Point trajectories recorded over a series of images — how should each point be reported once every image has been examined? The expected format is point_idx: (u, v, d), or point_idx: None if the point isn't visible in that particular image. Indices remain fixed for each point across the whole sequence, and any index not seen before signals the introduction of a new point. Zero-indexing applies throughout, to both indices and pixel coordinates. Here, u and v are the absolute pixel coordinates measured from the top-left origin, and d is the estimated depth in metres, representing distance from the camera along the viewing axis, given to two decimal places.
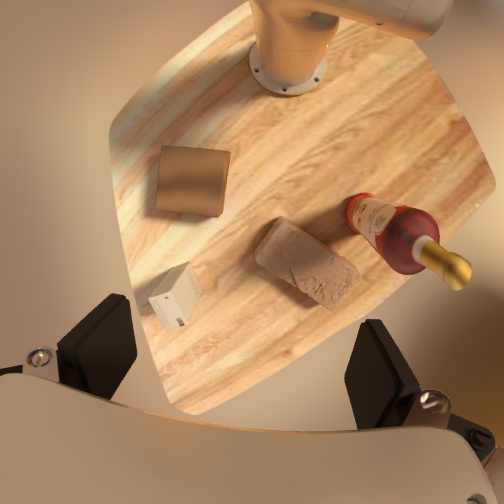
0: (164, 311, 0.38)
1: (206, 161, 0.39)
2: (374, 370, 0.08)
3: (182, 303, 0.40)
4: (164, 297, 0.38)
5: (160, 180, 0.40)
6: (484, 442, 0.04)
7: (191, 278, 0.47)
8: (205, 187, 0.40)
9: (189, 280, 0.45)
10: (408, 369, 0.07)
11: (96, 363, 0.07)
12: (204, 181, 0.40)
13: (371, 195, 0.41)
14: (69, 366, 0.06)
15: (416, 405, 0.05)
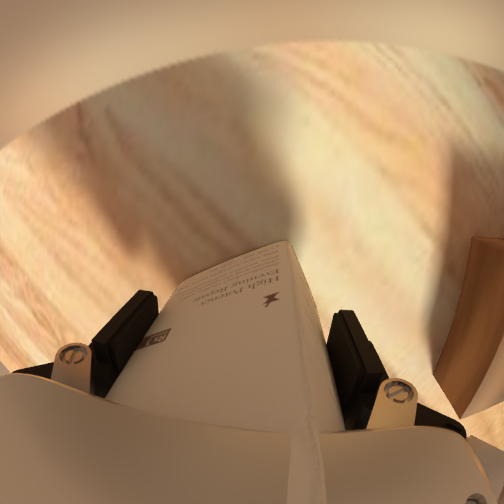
0: None
1: None
2: (343, 358, 0.08)
3: None
4: None
5: None
6: None
7: None
8: None
9: None
10: (374, 357, 0.07)
11: (129, 358, 0.08)
12: None
13: None
14: (103, 362, 0.07)
15: (379, 392, 0.06)
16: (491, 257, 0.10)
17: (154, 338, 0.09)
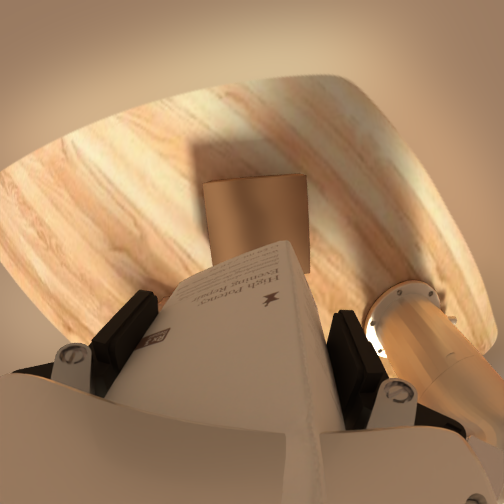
0: None
1: None
2: (343, 358, 0.08)
3: None
4: None
5: (250, 183, 0.26)
6: None
7: None
8: None
9: None
10: (374, 357, 0.07)
11: None
12: None
13: None
14: (103, 362, 0.07)
15: (379, 392, 0.06)
16: None
17: (153, 338, 0.09)
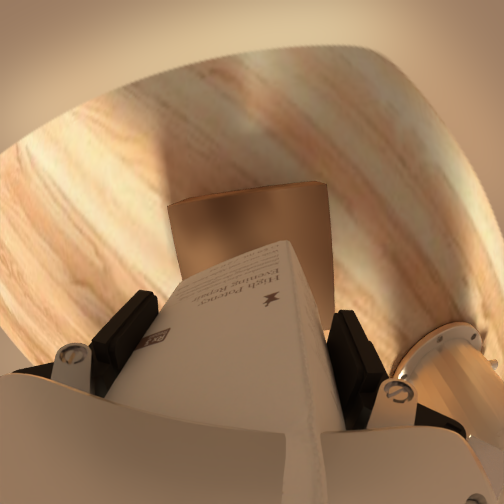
0: None
1: None
2: (343, 358, 0.08)
3: None
4: None
5: (238, 201, 0.17)
6: None
7: None
8: None
9: None
10: (374, 357, 0.07)
11: None
12: None
13: None
14: (103, 362, 0.07)
15: (379, 392, 0.06)
16: None
17: (153, 338, 0.09)
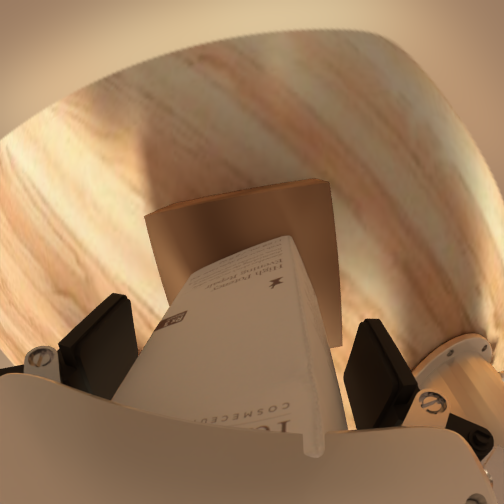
0: None
1: None
2: (373, 369, 0.08)
3: None
4: None
5: (225, 207, 0.14)
6: (483, 442, 0.04)
7: None
8: None
9: None
10: (407, 368, 0.07)
11: (97, 363, 0.07)
12: None
13: None
14: (70, 366, 0.06)
15: (415, 404, 0.05)
16: None
17: (171, 320, 0.10)
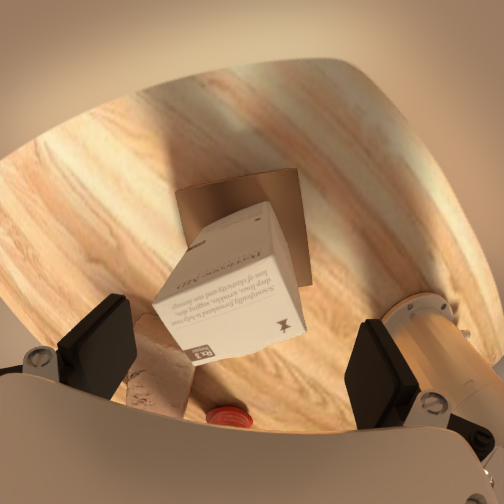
0: (227, 313, 0.11)
1: None
2: (374, 370, 0.08)
3: None
4: (283, 319, 0.11)
5: (230, 185, 0.22)
6: (484, 442, 0.04)
7: None
8: None
9: None
10: (408, 369, 0.07)
11: (96, 363, 0.07)
12: None
13: (250, 426, 0.35)
14: (69, 366, 0.06)
15: (416, 405, 0.05)
16: None
17: (196, 245, 0.18)
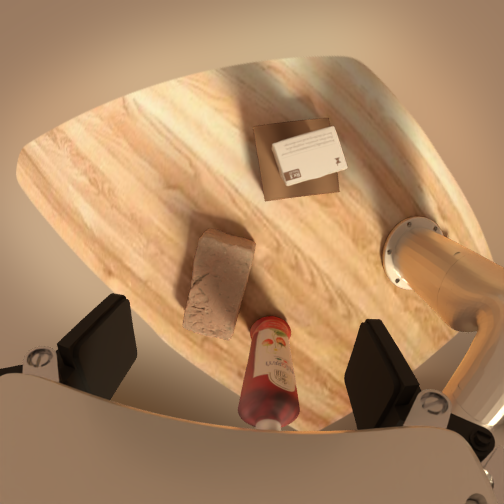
0: (312, 150, 0.23)
1: None
2: (374, 370, 0.08)
3: None
4: (337, 157, 0.23)
5: (288, 124, 0.33)
6: (484, 442, 0.04)
7: None
8: None
9: None
10: (408, 369, 0.07)
11: (96, 363, 0.07)
12: None
13: (289, 338, 0.45)
14: (69, 366, 0.06)
15: (416, 405, 0.05)
16: None
17: None
